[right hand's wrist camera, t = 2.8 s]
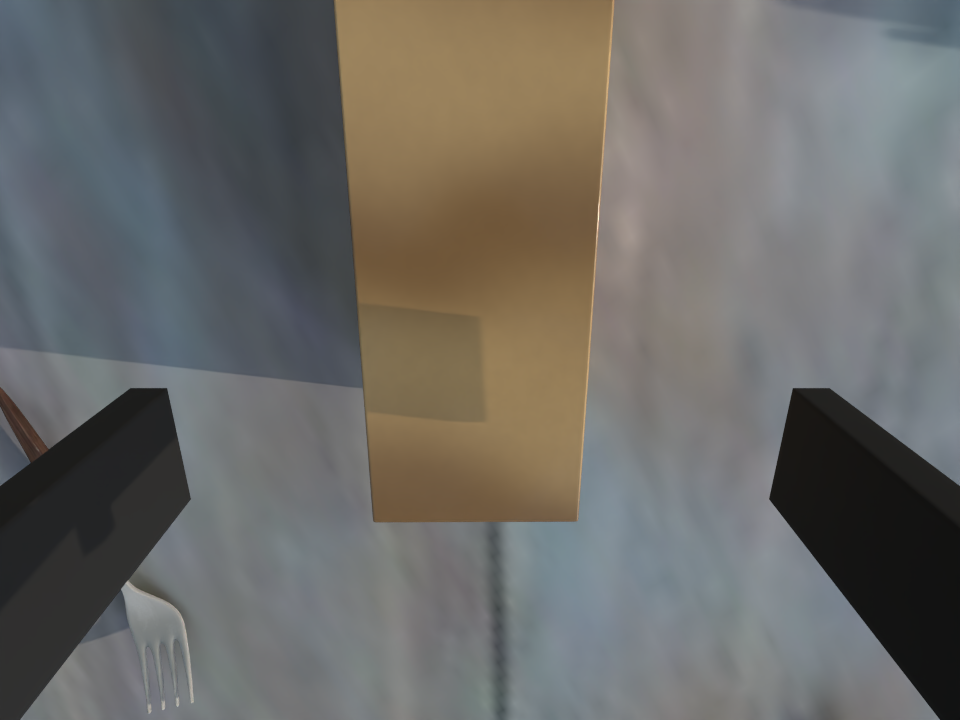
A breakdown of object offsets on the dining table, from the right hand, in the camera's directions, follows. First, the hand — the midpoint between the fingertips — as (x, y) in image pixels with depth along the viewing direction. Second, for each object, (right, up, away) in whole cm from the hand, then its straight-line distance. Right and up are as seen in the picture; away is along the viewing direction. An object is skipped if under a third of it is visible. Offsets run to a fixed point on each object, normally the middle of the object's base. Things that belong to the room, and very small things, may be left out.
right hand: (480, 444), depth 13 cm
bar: (0, +12, +7) cm, 14 cm away
